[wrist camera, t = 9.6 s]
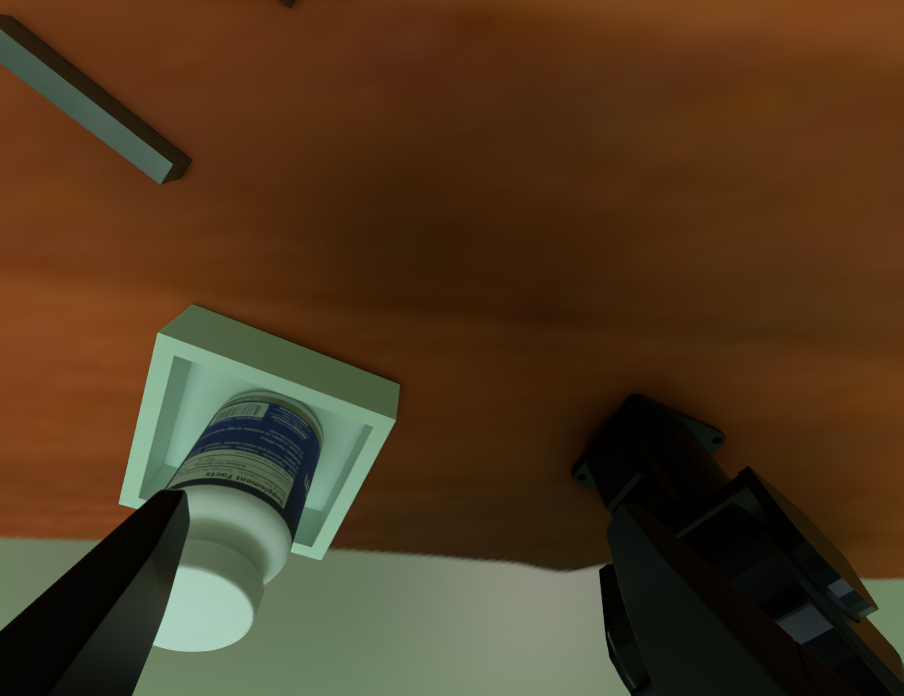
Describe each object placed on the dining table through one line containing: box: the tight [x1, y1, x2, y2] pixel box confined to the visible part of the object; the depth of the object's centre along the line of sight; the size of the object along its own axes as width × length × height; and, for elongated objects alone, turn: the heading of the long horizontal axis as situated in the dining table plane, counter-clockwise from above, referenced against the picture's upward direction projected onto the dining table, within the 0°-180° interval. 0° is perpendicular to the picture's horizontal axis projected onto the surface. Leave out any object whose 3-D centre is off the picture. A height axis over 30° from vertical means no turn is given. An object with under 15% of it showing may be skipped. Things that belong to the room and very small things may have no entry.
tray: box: [119, 304, 400, 560], centre depth 24 cm, size 11×11×3 cm
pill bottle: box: [153, 392, 323, 652], centre depth 20 cm, size 6×6×10 cm
